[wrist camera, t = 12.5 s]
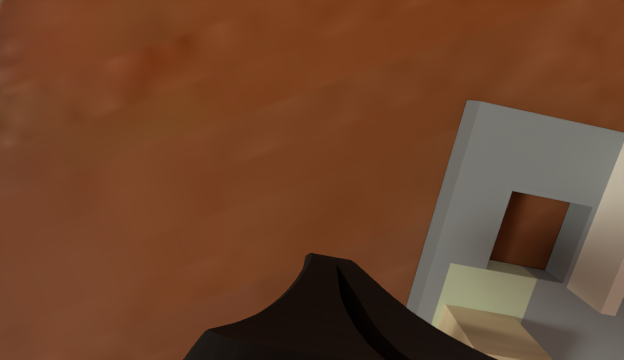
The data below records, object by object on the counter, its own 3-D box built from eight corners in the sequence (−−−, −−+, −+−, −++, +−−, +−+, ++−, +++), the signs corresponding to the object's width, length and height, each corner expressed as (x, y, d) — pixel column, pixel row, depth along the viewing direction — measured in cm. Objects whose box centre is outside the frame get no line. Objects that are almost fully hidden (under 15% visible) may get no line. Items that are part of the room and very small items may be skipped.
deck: (644, 392, 25) (666, 412, 24) (393, 351, 24) (399, 369, 23) (754, 162, 22) (788, 168, 20) (467, 100, 21) (480, 101, 19)
